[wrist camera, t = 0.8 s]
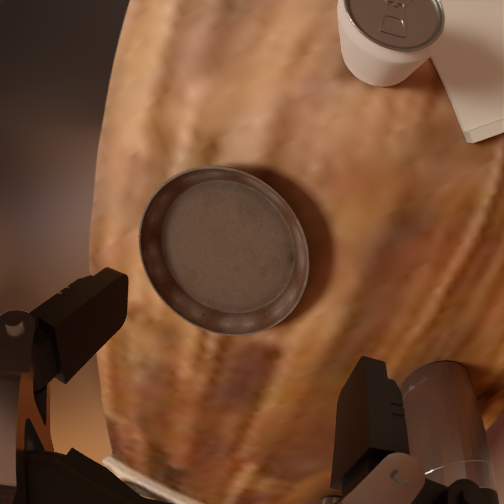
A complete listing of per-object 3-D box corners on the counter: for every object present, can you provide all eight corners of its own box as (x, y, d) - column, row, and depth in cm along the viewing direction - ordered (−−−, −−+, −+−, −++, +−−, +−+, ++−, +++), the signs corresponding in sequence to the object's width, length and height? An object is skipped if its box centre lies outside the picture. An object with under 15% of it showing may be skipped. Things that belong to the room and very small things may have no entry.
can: (417, 33, 21) (454, -20, 10) (407, 96, 23) (446, 75, 13) (346, 14, 22) (342, -51, 11) (335, 77, 24) (327, 41, 14)
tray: (466, 142, 23) (473, 143, 21) (364, -44, 19) (364, -53, 17) (577, 104, 16) (586, 104, 15) (488, -63, 12) (493, -70, 10)
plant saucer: (349, 234, 29) (349, 244, 27) (252, 348, 37) (244, 363, 35) (197, 129, 30) (182, 129, 27) (133, 260, 38) (119, 270, 35)
